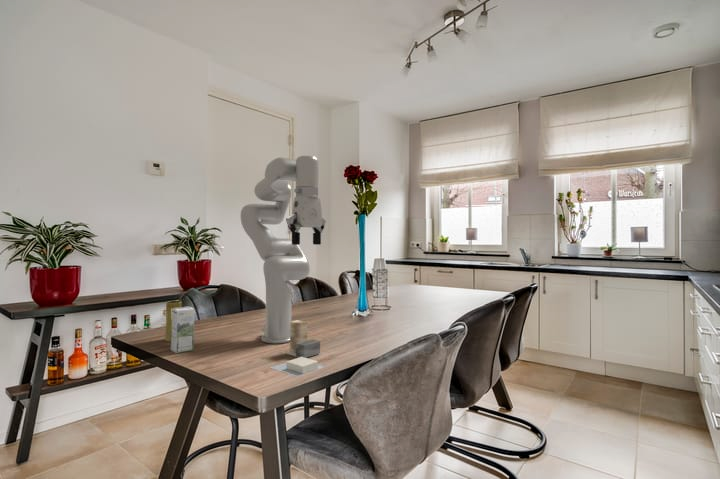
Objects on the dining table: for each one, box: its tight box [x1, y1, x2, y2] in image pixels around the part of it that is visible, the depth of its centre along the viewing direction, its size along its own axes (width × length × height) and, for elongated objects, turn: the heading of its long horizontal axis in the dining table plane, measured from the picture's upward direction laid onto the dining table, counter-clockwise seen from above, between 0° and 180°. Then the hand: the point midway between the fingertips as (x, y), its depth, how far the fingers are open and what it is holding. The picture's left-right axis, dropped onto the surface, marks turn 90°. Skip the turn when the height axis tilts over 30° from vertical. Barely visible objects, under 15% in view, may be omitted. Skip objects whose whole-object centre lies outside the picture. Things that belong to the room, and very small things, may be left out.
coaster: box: [285, 351, 299, 358], centre depth 127 cm, size 7×6×1 cm
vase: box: [164, 300, 183, 343], centre depth 145 cm, size 6×6×14 cm
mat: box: [269, 362, 325, 378], centre depth 114 cm, size 12×11×1 cm
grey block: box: [289, 319, 321, 358], centre depth 127 cm, size 9×7×10 cm
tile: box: [285, 357, 319, 374], centre depth 112 cm, size 2×6×7 cm
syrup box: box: [169, 306, 195, 354], centre depth 131 cm, size 6×6×14 cm
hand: (306, 244), depth 129 cm, fingers open, 9 cm apart
